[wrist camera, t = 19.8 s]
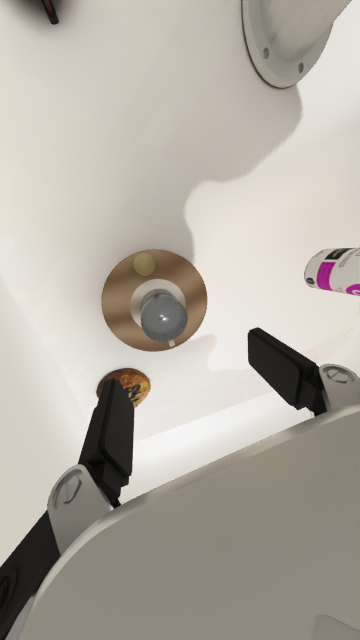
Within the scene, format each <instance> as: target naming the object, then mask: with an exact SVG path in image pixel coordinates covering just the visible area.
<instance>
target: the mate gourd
mask: <svg viewBox="0 0 360 640" xmlns="http://www.w3.org/2000/svg"><path fill="white" fill-rule="evenodd" d="M41 1H42V3H43V6H44V8H45V10H46V13H47V15H48V17H49V19H50V21H51V23H52V24H57V23H58V22H59V21H58V18H57V15H56V12H55V9H54V7H53V4H52V2H51V0H41Z"/></svg>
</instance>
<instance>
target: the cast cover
mask: <svg viewBox="0 0 360 640" xmlns="http://www.w3.org/2000/svg"><path fill="white" fill-rule="evenodd" d="M140 311H141V326H142V329H143V331H144V333H145V334H146V335H147V336H148V337H149V338H151V339H153V340H155V341H159V342H167V341H171V340H173V339H175V338H177V337H178V336H180V335H181V334H182V333H183V331H184V330H185V328H186V326H187V322H188V315H187V311H186V309H185V308H184V306H183V305H182V304H181V303H180V302H179V301H178V300H177V298H176V297H175V296H174V295H173V294H172V293H171V292H169V291H168V290H165V289H153V290H151V291H149V292H148V293H146V294H145V296H144V297H143V298H142V301H141V305H140Z"/></svg>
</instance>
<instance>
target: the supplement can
mask: <svg viewBox="0 0 360 640" xmlns="http://www.w3.org/2000/svg"><path fill="white" fill-rule="evenodd" d="M304 278H305V281H306V283H307V285H308V286H309V287H312V288H318V289H323V290H330V291H335V292H341V293H346V294H352V295H358V296H360V248H343V249H326V250H322V251H320V252H319V253H317V254H316V255H315V256H314V257H313V258H312V259H311V260H310V261H309V263H308V264H307V266H306V269H305V273H304Z"/></svg>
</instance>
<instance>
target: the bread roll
mask: <svg viewBox="0 0 360 640" xmlns="http://www.w3.org/2000/svg"><path fill="white" fill-rule="evenodd" d="M111 378H115V379H119V381H120V383H121V384H122V386H123V388H124V389H125V391H126V393H127V394H128V396H129V398H130V399H131V401H132V403H133V405H134V408H135V407H137V406H138V405H139V404H140V403H141V402H142V401H143V399H144V398H145V397H146V396H147V395H148V392H149V391H150V389H151V386H150V381H149V379H147V378H146V377H145V375H144V374H142V373H140V372H138V371H136V370H132V369H123V370H118V371H115V372H113V373H111V374H109V375H107V376H106V377H105V378H104V379H103V380H102V381H101V382H100V383H99V385H98V388H97V391H96V393H97V397H98V398H99V397H100V394H101V390H102V387H103V383H104V381H106V380H108V379H111Z"/></svg>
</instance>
